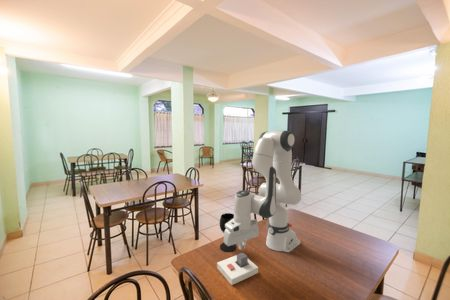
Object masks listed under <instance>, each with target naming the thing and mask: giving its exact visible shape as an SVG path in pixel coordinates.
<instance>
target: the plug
mask: <svg viewBox="0 0 450 300" xmlns="http://www.w3.org/2000/svg"><path fill="white" fill-rule="evenodd" d="M236 255H237V265H238V266H239V267H240V268H242V267H244V266H247V261H248V259H249V258H248V255H246V254H245V253H244V252H240V253H238V254H236Z"/></svg>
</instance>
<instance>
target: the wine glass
mask: <svg viewBox="0 0 450 300" xmlns="http://www.w3.org/2000/svg"><path fill="white" fill-rule="evenodd" d="M233 218H234V213H229V212H228V213H227V212H226V213H222V214H221V215H220V219H219V228H220V230H221V232H222V233H223V234H224V231H225V229H226V227H225V224H226V223H227V222H229V221H230V220H232V219H233ZM219 249H220V250H221V251H222V252H224V253H231V252H235V250H237V245H236V244H234V245H231V246H227V245H226V244H225V243H224V242H222V243H221V244H220V245H219Z"/></svg>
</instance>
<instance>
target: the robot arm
mask: <svg viewBox="0 0 450 300" xmlns="http://www.w3.org/2000/svg"><path fill="white" fill-rule="evenodd" d="M295 142H296V138H295V134H294V133H293V132H292V131H290V130H272V131H263V132H262V133H261V134H260V135H259V138H258V140H257V142H256V144H255V148H254V150H253V154H252V159H251V164H252V167H253V169H254V170H255V171H256V172H257V173H259V174H261V176H263V177H264V178H265V182H263V183H262V184H261V185H260V186H259V187H258V194H259V195H258V194H256V193H251V192H250V191H249V190H243V189H242V190H239V191H236V192H235V194H234V195H235V196H234V198H233V199H234V200H233V211H234V213H233V214H234V218H233V219H232V220H230V221H229V222H227V223H226V224H225V227H226V229H225V231H224V233H223V243H225V244H226V245H227V246H231V245H234V244H235V245H236V244H237V246H238V249H239V250H242V249H243V250H244V249H245V248H246V244H247V243H248V240H251V239H254V238H257V237H259V235H260V229H259V221H258V220H257V219H256V218H254V219H252V216H251V214H255V215H258V216H260V217H261V218H264V219H269V220H268V225H267V228H268V230H267V236H266V241H265V244H266V246H267V247H268V249H270V250H273V251H276V252H284V253H290V252H292V251H293V250H294V249H295V248H297V247H298V246H299V245H301V240H300V239H298V237H297V234H296V232H295V231H293V230H292V229H291V228H292V227H293V224H292V223H290V222H288V221H289V219H288V218H289V217H288V216H289V213H288V210H287V209H286V208H285V207H284V206H282V205H281V204H285V205H291V206H292V205H293V206H295V205H298V204H299V203H300V202H301V200H302V193H301V190H300V188H298V187H297V185H295V183H294V181H293V178H292V163H293V154H292V153H293V151H292V148H293V147H294V145H295ZM277 179H278V181H279V183H277Z"/></svg>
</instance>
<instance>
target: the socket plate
mask: <svg viewBox="0 0 450 300" xmlns="http://www.w3.org/2000/svg"><path fill="white" fill-rule="evenodd" d="M237 255H238V254H235V255H234V256H231V257H229V258H225V259H223V260H220V261H217V262H216V268H217V270H218V271H219V272H220V273H221V274H222V276H224V278H225V279H226V280H227V282H228V283H229V284H230V285H231V286H233V285H235V284H238V283H240V282H241V281H244V280H246V279H248V278H250V277H253V276H254V275H257V274H258V273H259V267H258V266H257V265H256V264H255V263H254V262H253V261H251V260H250V259H249V258H248V261H247V266H244V267H242V268H240V267H239V266H238V265H237Z"/></svg>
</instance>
